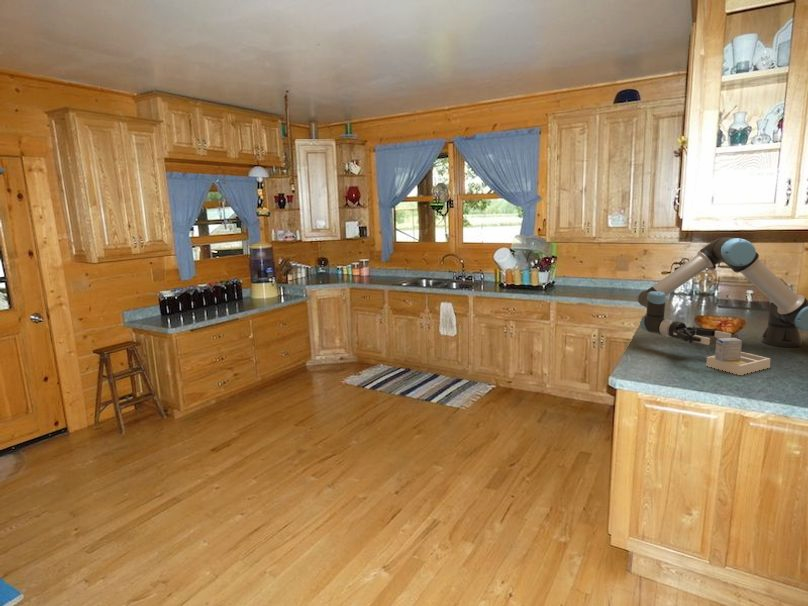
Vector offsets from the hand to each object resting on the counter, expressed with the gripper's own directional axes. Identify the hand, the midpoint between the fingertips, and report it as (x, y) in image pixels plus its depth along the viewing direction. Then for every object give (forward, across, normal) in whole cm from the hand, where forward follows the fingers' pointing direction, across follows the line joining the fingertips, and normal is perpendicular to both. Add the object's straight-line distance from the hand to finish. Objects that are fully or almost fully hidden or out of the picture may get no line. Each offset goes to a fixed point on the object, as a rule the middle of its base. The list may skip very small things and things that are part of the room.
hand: (720, 339), depth 203 cm
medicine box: (+4, 0, -8) cm, 9 cm away
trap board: (+4, -7, -12) cm, 14 cm away
